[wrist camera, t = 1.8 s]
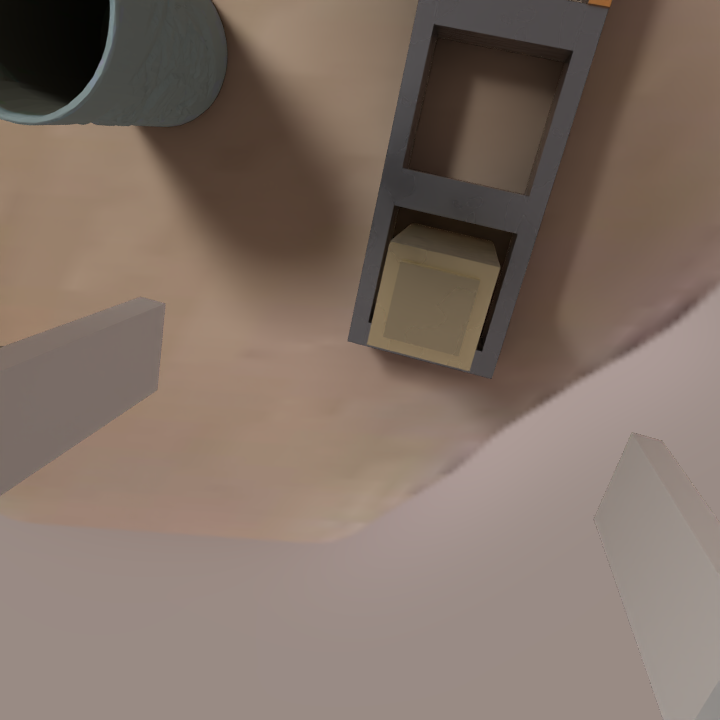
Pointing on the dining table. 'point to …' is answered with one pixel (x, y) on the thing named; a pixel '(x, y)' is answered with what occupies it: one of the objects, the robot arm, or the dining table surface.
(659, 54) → the dining table surface
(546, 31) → the grey compartment tray
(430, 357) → the beige recessed-panel block
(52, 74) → the grey-green cup
